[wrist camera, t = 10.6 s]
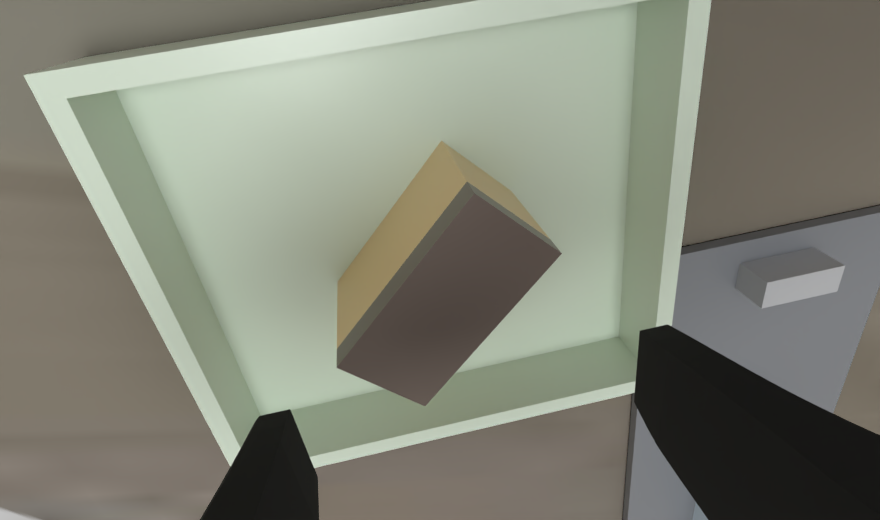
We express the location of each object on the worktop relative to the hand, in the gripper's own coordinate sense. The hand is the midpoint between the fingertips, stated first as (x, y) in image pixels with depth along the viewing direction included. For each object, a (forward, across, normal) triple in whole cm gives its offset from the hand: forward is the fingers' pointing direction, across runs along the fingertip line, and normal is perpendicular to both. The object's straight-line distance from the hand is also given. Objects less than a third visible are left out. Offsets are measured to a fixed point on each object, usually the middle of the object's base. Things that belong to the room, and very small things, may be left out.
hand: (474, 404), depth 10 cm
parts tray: (+8, 0, 0) cm, 8 cm away
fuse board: (+8, -14, +14) cm, 22 cm away
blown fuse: (+8, 0, 0) cm, 8 cm away
